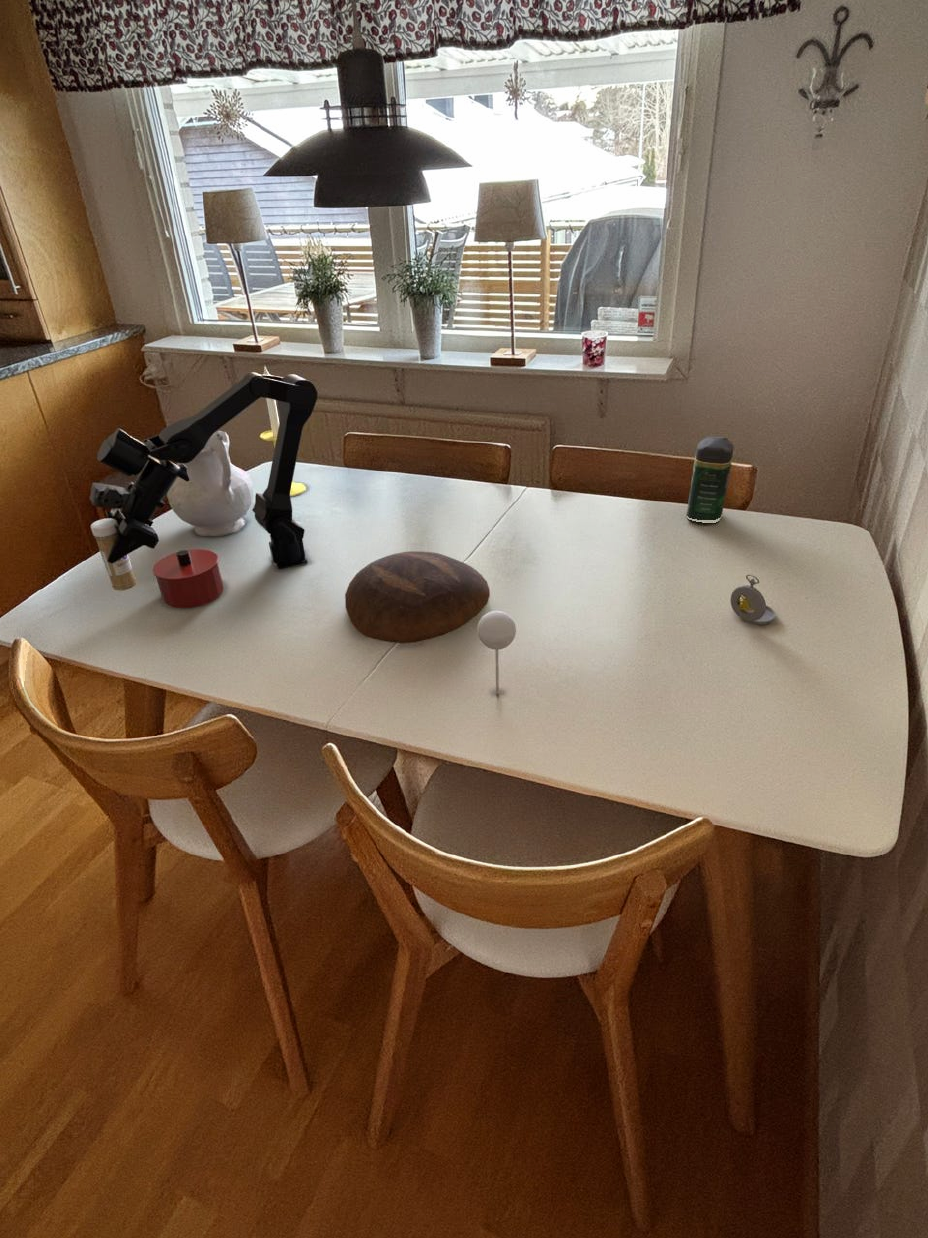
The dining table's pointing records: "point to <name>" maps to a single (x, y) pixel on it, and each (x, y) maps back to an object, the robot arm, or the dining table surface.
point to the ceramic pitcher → (212, 491)
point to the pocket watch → (751, 604)
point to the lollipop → (496, 634)
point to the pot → (192, 590)
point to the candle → (272, 436)
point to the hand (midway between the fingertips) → (107, 557)
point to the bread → (414, 597)
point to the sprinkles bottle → (105, 539)
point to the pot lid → (185, 564)
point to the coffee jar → (710, 479)
